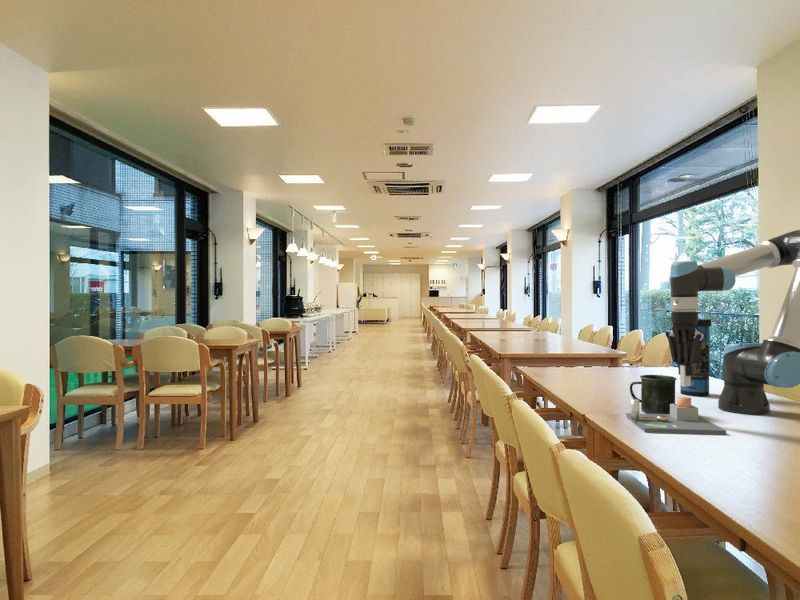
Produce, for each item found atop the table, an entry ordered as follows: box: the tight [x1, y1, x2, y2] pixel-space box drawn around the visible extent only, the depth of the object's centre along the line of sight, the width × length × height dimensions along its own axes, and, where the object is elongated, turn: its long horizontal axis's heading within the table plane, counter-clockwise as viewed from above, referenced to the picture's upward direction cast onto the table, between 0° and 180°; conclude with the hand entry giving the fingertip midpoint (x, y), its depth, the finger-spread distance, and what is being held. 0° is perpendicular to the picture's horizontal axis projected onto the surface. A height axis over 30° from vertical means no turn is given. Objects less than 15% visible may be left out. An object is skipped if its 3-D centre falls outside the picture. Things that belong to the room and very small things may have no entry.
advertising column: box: [680, 318, 712, 398], centre depth 219 cm, size 11×11×30 cm
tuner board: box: [625, 403, 727, 436], centre depth 168 cm, size 22×20×5 cm
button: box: [676, 396, 692, 408], centre depth 172 cm, size 4×4×5 cm
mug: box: [629, 374, 677, 414], centre depth 187 cm, size 11×15×12 cm
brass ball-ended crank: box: [630, 398, 668, 421], centre depth 169 cm, size 11×3×6 cm, turn 82°
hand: (685, 385), depth 172 cm, fingers closed
